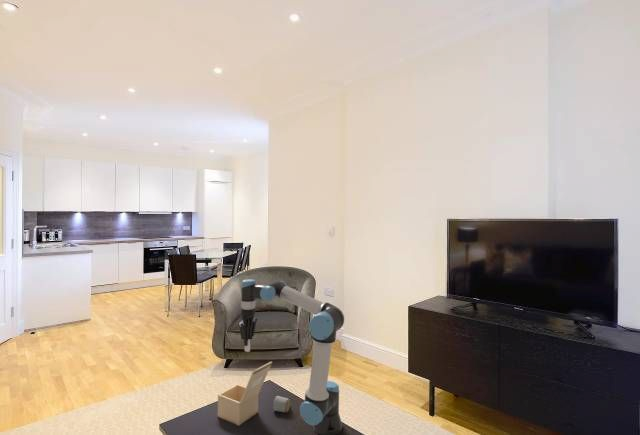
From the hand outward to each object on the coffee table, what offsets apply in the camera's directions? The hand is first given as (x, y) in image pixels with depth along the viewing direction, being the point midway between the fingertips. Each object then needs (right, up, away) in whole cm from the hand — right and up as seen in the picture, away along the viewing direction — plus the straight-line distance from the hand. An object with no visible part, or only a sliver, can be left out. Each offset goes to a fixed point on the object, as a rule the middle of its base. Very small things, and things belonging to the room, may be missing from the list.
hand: (247, 351), depth 193 cm
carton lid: (+5, -15, -4) cm, 16 cm away
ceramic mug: (+18, -37, +9) cm, 42 cm away
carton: (-6, -36, +3) cm, 37 cm away
